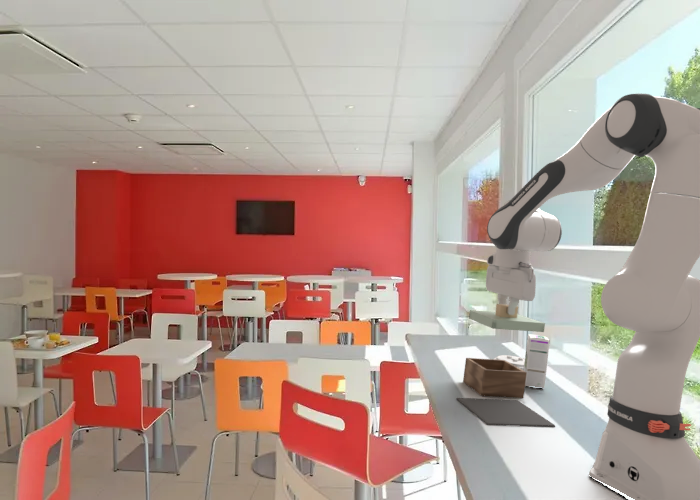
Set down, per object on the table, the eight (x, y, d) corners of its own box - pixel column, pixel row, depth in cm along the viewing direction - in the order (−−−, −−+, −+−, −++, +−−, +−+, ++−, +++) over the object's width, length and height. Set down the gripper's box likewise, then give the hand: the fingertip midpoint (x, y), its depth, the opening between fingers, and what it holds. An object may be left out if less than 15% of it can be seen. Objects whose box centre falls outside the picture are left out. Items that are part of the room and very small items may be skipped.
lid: (506, 378, 168) (508, 362, 167) (485, 366, 180) (487, 351, 179) (542, 380, 171) (544, 364, 171) (519, 368, 183) (521, 353, 183)
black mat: (554, 426, 128) (555, 425, 128) (487, 424, 124) (487, 423, 124) (517, 401, 145) (517, 400, 145) (456, 399, 141) (456, 397, 141)
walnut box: (523, 398, 149) (526, 372, 148) (482, 396, 146) (485, 370, 145) (501, 383, 160) (504, 360, 160) (462, 382, 157) (466, 357, 157)
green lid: (543, 332, 142) (546, 311, 142) (492, 328, 139) (495, 307, 139) (515, 321, 156) (518, 303, 156) (468, 318, 153) (471, 299, 153)
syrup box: (544, 390, 159) (551, 340, 158) (523, 386, 160) (529, 336, 159) (541, 384, 165) (548, 336, 164) (521, 381, 166) (527, 333, 165)
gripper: (545, 265, 137) (538, 321, 138) (504, 259, 157) (499, 307, 158) (521, 263, 136) (515, 319, 136) (484, 257, 156) (478, 306, 156)
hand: (506, 313), depth 147 cm, fingers closed on green lid, 2 cm apart
